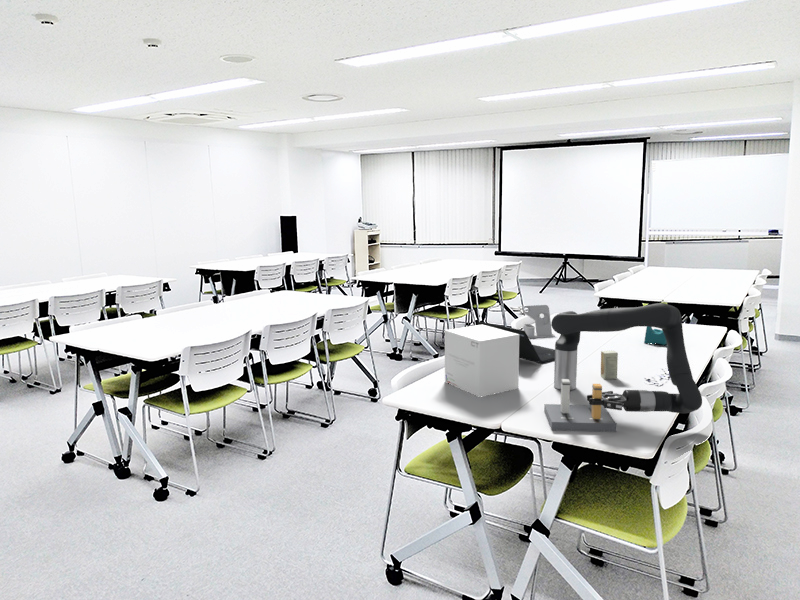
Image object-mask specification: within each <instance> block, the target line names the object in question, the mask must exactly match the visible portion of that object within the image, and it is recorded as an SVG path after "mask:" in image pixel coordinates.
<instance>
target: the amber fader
mask: <svg viewBox="0 0 800 600" xmlns="http://www.w3.org/2000/svg"><path fill="white" fill-rule="evenodd" d="M591 391H592V394H591V395H592V398H600V400H601V399H602V392H603V386H602V384H601V383H592V390H591ZM591 416H592V418H593V419H601V405H592V413H591Z"/></svg>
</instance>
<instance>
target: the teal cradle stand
mask: <svg viewBox="0 0 800 600" xmlns="http://www.w3.org/2000/svg"><path fill="white" fill-rule="evenodd" d="M644 336H645V337H644V341H643V343H644V344H646V343H652V344H655V343H656V344H659V345H663V346H665V345H667V342H666V338H665V335H664V333H663V330H662V329H660V328H653V327H647V326H646V328H645V334H644ZM656 344H655V345H656Z"/></svg>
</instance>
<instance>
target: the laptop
mask: <svg viewBox="0 0 800 600" xmlns="http://www.w3.org/2000/svg"><path fill="white" fill-rule="evenodd" d="M482 324H483V325H486V326H490V327H494V328H497V329H501V330H505V331H509V332H512V333H516V334H519V359H525V360H529V361H532V362H536V363H538V364H542V363H546V362H551V361H555V348H554V349H553V348H549V347H544V346H540V345H536V344H533V343H532V342H531V339H530V338H528V336H527V334H526V332H525V331H524V329H523V330H522V329H518V328H514V327H507V326H505V325H504V326H503V325H500V324H499V325H498V324H493V323H489V322H485V321H484V322H483V321H480V320H479V321H478V320H477V323H476V325H482Z"/></svg>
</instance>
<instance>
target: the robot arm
mask: <svg viewBox="0 0 800 600" xmlns="http://www.w3.org/2000/svg"><path fill="white" fill-rule="evenodd" d="M635 327H636V328H637V327H646V328H647V327H652V328H655V329H659V330H663V333H664V335H665V338H666V342H667V344H666V365H667V369H668V371H669V374H670V375H669V376H670V378H671V379H670V381H671V384H672V385H674V386H676V389H677V391H678V393H669V392H667V391H662V390H646V389H624V390H623V393H622V394H620V393H617V392H614V391H613V390H610V391H609V390H608V391H602V399H601V400H600V398H592V394H587V395H586V401H587V402H588V405H601V406H604V408H606V409H607V410H609V409H610V410H615V411H616V410H617V411H622V410H624V411H625V412H631V413H632V412H635V413H636V412H637V413H638V412H639V413H648V412H649V413H650V412H669V413H676V414H689V413H692V412H695V411H697V410H699V409H700V408H701V407H702V405H703V397H702V393H701V392H700V389H699V388H698V385H697V383H696V382H695V381H696V380H695V379H694V378H693V373H692V369H691V367H690V362H689V360H688V355H687V351H686V345H685V340H684V339H685V338H684V330H683V320H682V314H681V312H680V310H679V308H677V307H675V306H673V305H671V304H667V303H665V302H659V303H658V302H657V303H652V304H648V305H647V304H646V305H643V306H638V307H637V306H635V307H612V308H611V307H610V308H609V307H608V308H601V309H596V310H592V311H588V312H584V313H577V312H575V311H573V310H572V311H571V310H569V311H564V312H560V313H558V314H555V316H553V318H552V320H551V329H553V331H554V332H555V333H557V334H559V335H560V336H559V338H558V339H557V340H556V341H555V344H554V350H555V360H554V370H553V371H554V374H553V375H554V377H553V379H554V380H553V387H554V388H555V389H557V390H560V391H561V379H569V381H570V391H574V390H576V388H577V371H578V348H579V347H578V346H579V343H580V340H581V332H591V333H592V332H593V333H599V332H600V333H602V332H603V333H608V332H623V331H625V330H628V329H632V328H635Z"/></svg>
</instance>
